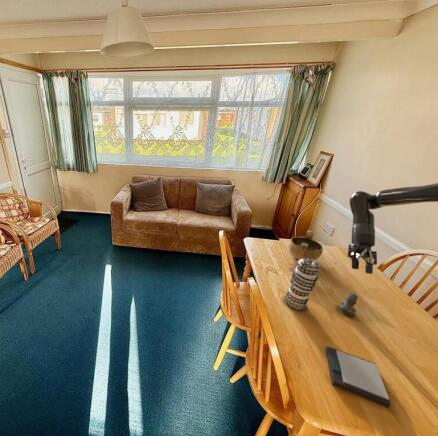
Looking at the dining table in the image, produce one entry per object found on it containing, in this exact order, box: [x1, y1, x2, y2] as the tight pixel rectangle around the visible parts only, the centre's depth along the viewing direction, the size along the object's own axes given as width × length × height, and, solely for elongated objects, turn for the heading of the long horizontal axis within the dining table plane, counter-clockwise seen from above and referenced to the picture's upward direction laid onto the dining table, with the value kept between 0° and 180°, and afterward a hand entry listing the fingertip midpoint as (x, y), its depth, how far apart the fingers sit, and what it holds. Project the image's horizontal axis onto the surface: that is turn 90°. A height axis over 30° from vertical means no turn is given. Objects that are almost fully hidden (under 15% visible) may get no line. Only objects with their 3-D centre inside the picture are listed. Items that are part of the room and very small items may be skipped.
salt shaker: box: [338, 292, 358, 316], centre depth 100 cm, size 6×6×12 cm
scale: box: [324, 346, 392, 409], centre depth 77 cm, size 14×14×4 cm
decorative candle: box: [284, 258, 321, 311], centre depth 102 cm, size 9×9×25 cm
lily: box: [287, 258, 298, 273], centre depth 125 cm, size 12×12×10 cm
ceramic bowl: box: [288, 230, 324, 261], centre depth 138 cm, size 22×17×15 cm
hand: (362, 271), depth 97 cm, fingers open, 8 cm apart
